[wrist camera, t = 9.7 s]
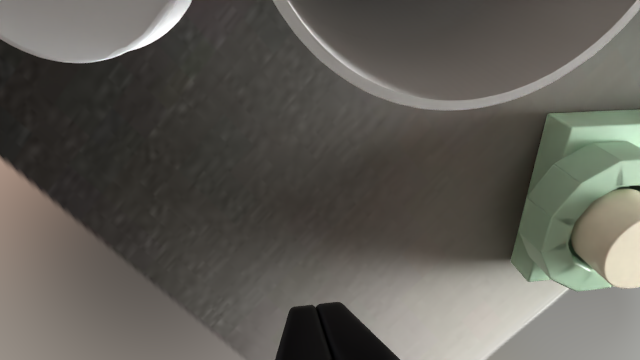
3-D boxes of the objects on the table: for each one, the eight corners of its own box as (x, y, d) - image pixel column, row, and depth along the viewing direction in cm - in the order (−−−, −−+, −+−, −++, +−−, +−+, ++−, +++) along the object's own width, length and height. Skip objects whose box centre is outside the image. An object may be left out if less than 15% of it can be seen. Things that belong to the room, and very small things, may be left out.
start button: (561, 263, 22) (592, 293, 20) (583, 190, 20) (619, 217, 19) (632, 255, 23) (668, 284, 21) (660, 184, 21) (701, 209, 19)
